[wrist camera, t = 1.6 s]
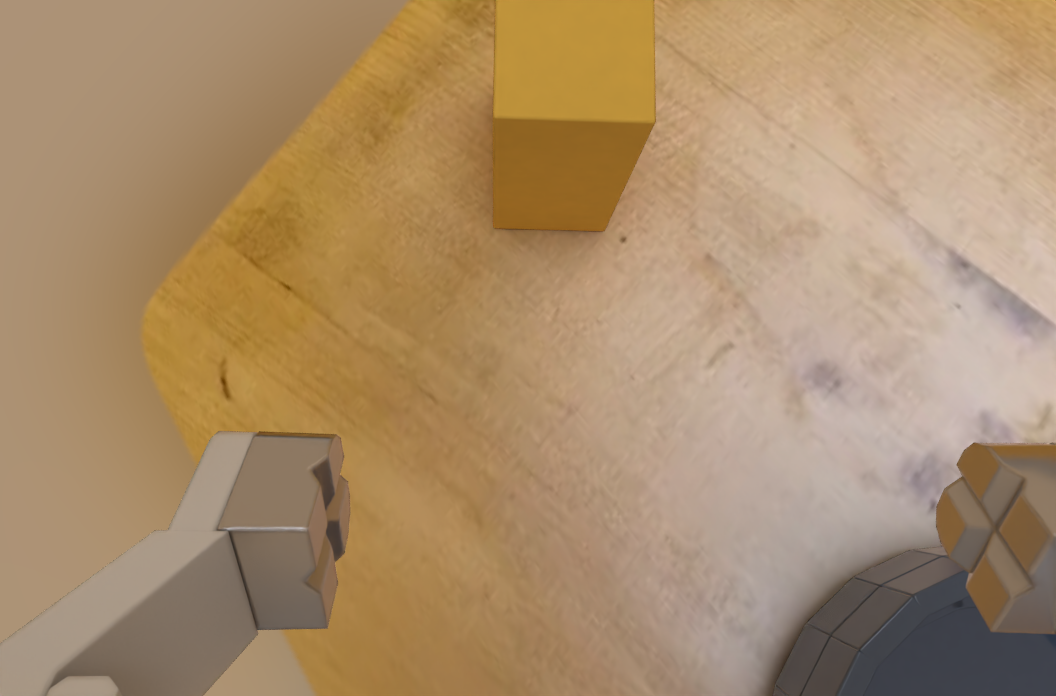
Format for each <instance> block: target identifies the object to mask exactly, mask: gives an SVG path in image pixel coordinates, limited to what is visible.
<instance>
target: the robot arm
mask: <svg viewBox="0 0 1056 696" xmlns="http://www.w3.org/2000/svg"><path fill="white" fill-rule="evenodd" d="M343 460H344V453H343V447H342V442H341V438H340V437H339V436H338V435H337V434H312V433H285V432H258V433H257V432H235V431H218V432H217V433H216V434H215V435H214V436H213V437H212V438H211V439H210V440H209V442H208V444H207V446H206V449H205V451H204V453H203V455H202V457H201V459H200V461H199V464H198V466H197V468H196V470H195V472H194V474H193V477H192V479H191V481H190V483H189V485H188V487H187V489H186V491H185V494H184V496H183V498H182V500H181V502H180V504H179V506H178V509H177V511H176V513H175V515H174V517H173V519H172V522H171V524H170V526H169V528H168V530H155V531H153V532H152V533H151V534H150V535H148V536H147V537H145V538H144V539H142V540H141V541H140V542H139V543H137V544H136V545H134V546H133V547H132V548H130V549H129V550H127V551H126V552H125V553H123V554H122V555H120V556H119V557H118V558H116V559H115V560H114V561H113V562H111V563H109V564H108V565H107V566H105V567H104V568H103V569H101V570H100V571H98V572H97V573H96V574H95V575H93V576H92V577H90V578H89V579H88V580H86V581H85V582H83V583H82V584H81V585H79V586H78V587H77V588H75V589H74V590H72V591H71V592H70V593H68V594H67V595H66V596H64V597H63V598H62V599H60V600H59V601H57V602H56V603H55V604H54V605H52V606H51V607H49V608H48V609H46V610H45V611H44V612H42V613H41V614H40V615H38V616H37V617H35V618H34V619H33V620H31V621H30V622H28V623H27V624H26V625H24V626H23V627H22V628H20V629H19V630H18V631H16V632H15V633H13V634H12V635H11V636H9V637H8V638H7V639H5V640H4V641H3V642H1V643H0V696H203V695H204V694H205V693H206V692H207V691H208V690H209V689H210V687H211V686H212V685H213V684H214V683H215V682H216V681H217V679H218V678H219V677H220V676H221V675H222V674H223V673H224V672H225V671H226V670H227V668H228V667H229V666H230V665H231V664H232V662H234V661H235V659H236V658H237V657H238V656H239V655H240V654H241V653H242V652H243V651H244V649H245V648H246V647H247V646H248V645H249V644H250V643H251V642H252V640H253V639H254V638H255V637H256V636H257V635H258V631H257V630H279V629H325V628H328V625H329V621H330V617H331V612H332V608H333V603H334V599H335V594H336V590H337V586H338V579H337V573H336V567H335V562H336V561H337V560H338V559H339V558H340V557H341V556H342V555H343V554H344V553H345V549H346V544H347V539H348V533H349V522H350V493H349V486H348V481H347V480H346V479H344V478H343V477H342V476H341V475H340V472H341V468H342V464H343ZM957 466H958V469H959V471H960V473H961V475H962V477H961V478H959V479H958V480H956V481H955V482H953V483H952V484H950V485H949V486H947V487H946V488H945V489H944V491H943V493H942V495H941V498H940V500H939V502H938V504H937V507H936V528H937V531H938V535H939V539H940V542H941V544H942V546H943V548H944V550H945V552H946V553H947V555H948V557H949V559H951V560H952V561H953V562H955V563H956V564H957V565H959V566H960V567H962V568H963V569H964V570H966V571H967V572H968V573H969V575H968V579H967V583H966V589H967V591H968V593H969V594H970V596H971V598H972V600H973V601H974V603H975V605H976V607H977V608H978V610H979V612H980V614H981V615H982V617H983V619H984V621H985V622H986V624H987V626H988V628H989V629H990V631H991V632H1004V633H1034V634H1056V443H1050V444H1047V443H973V444H972V445H970V446H969V447H968V448H967V449H965V450H964V451H963V453H962V455H961V457H960V459H959V461H958V463H957Z"/></svg>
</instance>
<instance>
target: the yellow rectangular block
mask: <svg viewBox="0 0 1056 696" xmlns="http://www.w3.org/2000/svg"><path fill="white" fill-rule="evenodd" d="M655 121H656V107H655V27H654V0H495V34H494V80H493V227H494V228H500V229H538V230H576V231H605V228H606V226H607V224H608V222H609V220H610V218H611V216H612V214H613V211H614V209H615V207H616V205H617V203H618V201H619V199H620V196H621V194H622V192H623V190H624V188H625V186H626V184H627V181H628V179H629V177H630V175H631V173H632V171H633V169H634V167H635V164H636V162H637V160H638V158H639V156H640V154H641V152H642V149H643V147H644V145H645V143H646V141H647V139H648V137H649V134H650V132H651V130H652V128H653V126H654V124H655Z"/></svg>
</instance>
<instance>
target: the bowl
mask: <svg viewBox="0 0 1056 696" xmlns="http://www.w3.org/2000/svg"><path fill="white" fill-rule="evenodd" d="M968 575H969V573H968V572H967V571H966V570H964V569H963V568H962V567H960V566H959V565H957V564H956V563H955V562H953V561H952V560H951V559H949V557H948V555H947V553H946V552H945V550H944V548H943V546H942V547H932V548H922V549H913V550H909V551H907V552H905V553H902V554H900V555H898V556H896V557H894V558H892V559H890V560H888V561H885V562H883V563H881V564H879V565H877V566H875V567H873V568H871V569H868V570H866V571H864V572H862V573H860V574H858V575H856V576H854V578H852V579H851V580H850V581H849V582H848V583H847V584H845V585H844V586H843V587H842V588H841V589H840V590H839V591H838V592H837V593H836V594H835V595H834V596H833V597H832V598H831V599H830V600H829V601H828V602H827V603H826V604H825V605H824V606H823V607H822V608H821V609H820V610H819V611H818V612H817V613H816V614H815V615H814V616H813V617H812V618H811V619H810V620H809V621H808V622H807V624H805V626H804V628H803V630H802V632H801V633H800V635H799V637H798V639H797V641H796V643H795V645H794V647H793V649H792V651H791V653H790V655H789V657H788V659H787V661H786V663H785V665H784V667H783V669H782V671H781V673H780V675H779V677H778V679H777V681H776V683H775V687H774V693H773V696H1056V634H1034V633H1004V632H991V631H990V629H989V628H988V626H987V624H986V622H985V621H984V619H983V617H982V615H981V614H980V612H979V610H978V608H977V607H976V605H975V603H974V601H973V600H972V598H971V596H970V594H969V593H968V591H967V589H966V583H967V579H968Z"/></svg>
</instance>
